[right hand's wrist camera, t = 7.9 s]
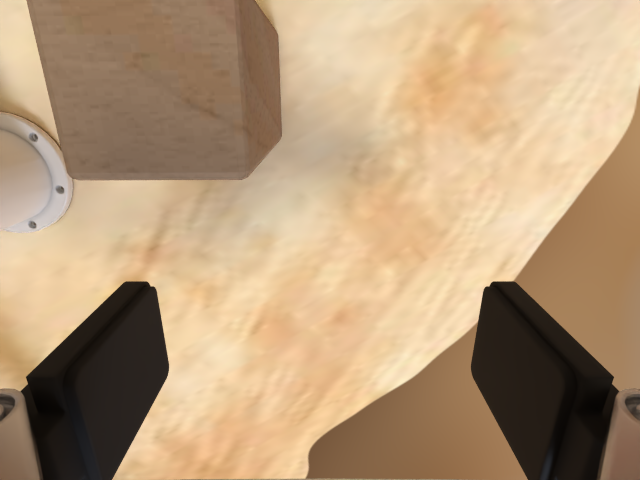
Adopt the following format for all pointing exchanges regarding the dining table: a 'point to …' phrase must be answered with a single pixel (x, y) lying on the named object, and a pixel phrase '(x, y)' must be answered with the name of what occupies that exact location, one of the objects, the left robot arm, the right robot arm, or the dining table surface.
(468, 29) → the dining table surface
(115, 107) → the wooden block
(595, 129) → the dining table surface
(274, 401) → the dining table surface
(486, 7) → the dining table surface
